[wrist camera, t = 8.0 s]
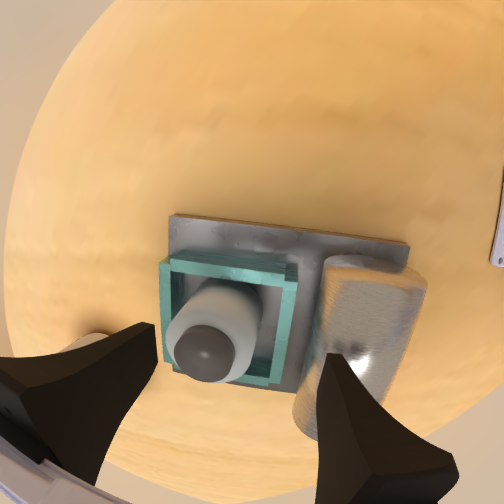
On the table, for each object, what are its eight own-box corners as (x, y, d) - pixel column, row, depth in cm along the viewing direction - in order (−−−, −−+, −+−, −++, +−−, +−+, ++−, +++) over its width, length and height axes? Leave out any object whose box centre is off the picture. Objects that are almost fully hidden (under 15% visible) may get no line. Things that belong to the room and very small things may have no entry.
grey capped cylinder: (270, 286, 20) (257, 334, 14) (255, 346, 21) (239, 403, 15) (197, 268, 20) (160, 307, 14) (189, 329, 21) (157, 378, 16)
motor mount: (405, 242, 18) (450, 279, 12) (360, 390, 22) (372, 453, 15) (174, 213, 20) (120, 237, 14) (176, 364, 24) (143, 419, 17)
